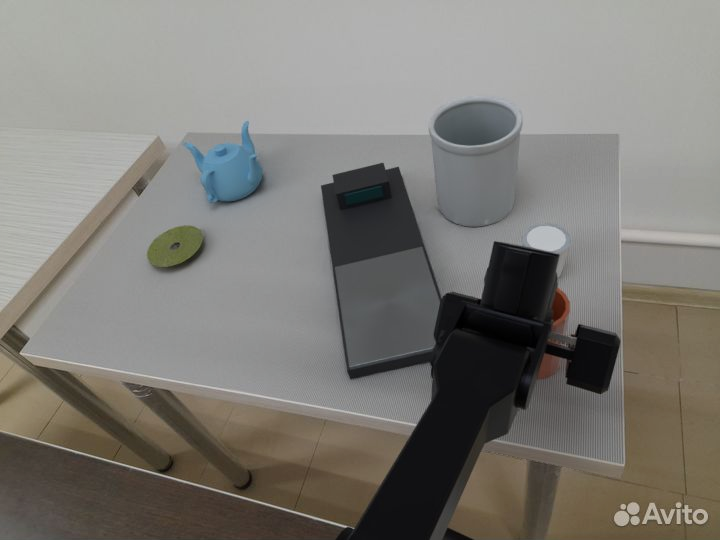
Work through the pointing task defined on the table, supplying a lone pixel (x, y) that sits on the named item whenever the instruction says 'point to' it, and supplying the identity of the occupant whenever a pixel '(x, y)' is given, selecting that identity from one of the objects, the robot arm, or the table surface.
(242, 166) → the teapot
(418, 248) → the scale
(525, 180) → the table surface
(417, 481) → the robot arm
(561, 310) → the cup
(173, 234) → the mat
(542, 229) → the shot glass
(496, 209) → the utensil holder
